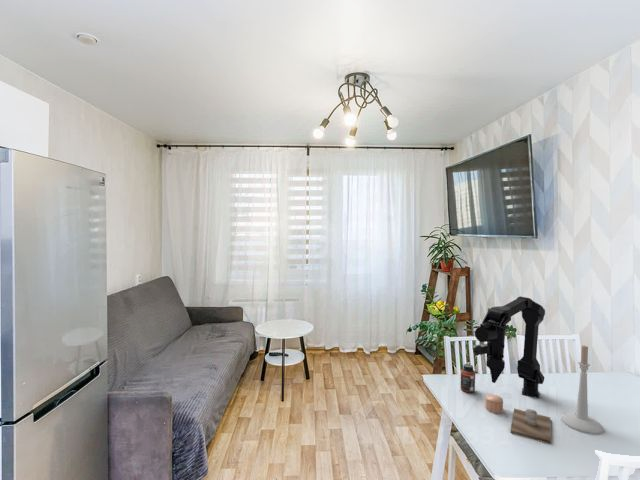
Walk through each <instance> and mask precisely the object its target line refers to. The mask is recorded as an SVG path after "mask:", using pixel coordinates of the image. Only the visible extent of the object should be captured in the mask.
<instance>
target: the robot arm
mask: <svg viewBox="0 0 640 480" xmlns="http://www.w3.org/2000/svg"><path fill="white" fill-rule="evenodd" d="M519 313H521V317H522V320H523V321H524V324H525V329H524V343H523V344H524V345H523V354H522V357H521V358H520V359H518V360H517V367H516V369H517V376H518V378H520V379H522V380H523V381H522V382H523V383H522V384H523V385H522V388H521V395H525V396H529V397H532V398H536V399H540V390H539V385H543V384H544V382H545V376H544V374H543V373H542V371H541V364H540V363H539V361H538V359H537V353H538V340H539V339H538V337H539V325H541V323H542V322H543V321H544V319H545V318H544V317H545V316H546V309H545V308H544V307H543V306H542V305H541V304H539V303H537V302H535V301H534V300H533V299H532V298H530V297H526V296H518V297H517V298H516V299H514V300H512V301H510V302H509V303H506V304H504V305H502V306H501V305H500V306H492V307H490V308H489V309H488V310H487V313H486V314H485V316H484V318H483V320H482V322H481V323H480V325H479V327H477V328H476V329H475V331H474V336H475V339H476V340H477V341H478V342H480V343H479V344H474V345H472V350H473V351H472V353H473V354H474V356H479V355H480V356H481V355H486V363H485V364H486V367H487V368H488V369H489V370H490V378H491V382H492V383H493V384H495V383H496V382H497V381H498V379H499V377H500V376H501V374H502V372H503V371H504V370H505V365H506V363H505V360H504V358H505V356H504V353H505V342H506V341H505V340H506V339H505V338H506V330H509V326H508V325H507V324H508V323H510V322H511V321H512V317H513V316H515V315H516V314H519Z"/></svg>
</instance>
